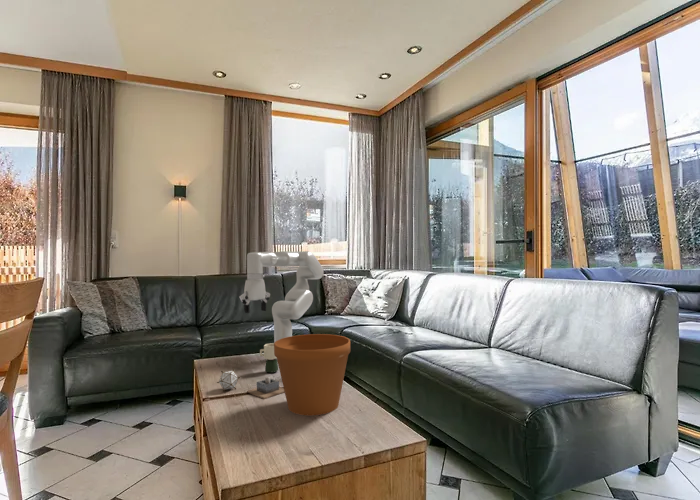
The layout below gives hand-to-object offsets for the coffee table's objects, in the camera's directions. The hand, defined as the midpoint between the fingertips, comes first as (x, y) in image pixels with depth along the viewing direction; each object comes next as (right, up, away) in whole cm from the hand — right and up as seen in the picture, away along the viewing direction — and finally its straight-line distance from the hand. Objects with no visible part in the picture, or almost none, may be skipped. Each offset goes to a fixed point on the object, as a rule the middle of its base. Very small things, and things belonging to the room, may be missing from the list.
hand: (255, 311), depth 194 cm
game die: (-4, -28, -30) cm, 42 cm away
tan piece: (+13, -27, -34) cm, 46 cm away
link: (+13, -27, -34) cm, 45 cm away
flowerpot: (+33, -27, -50) cm, 66 cm away
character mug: (+9, -28, -6) cm, 30 cm away
